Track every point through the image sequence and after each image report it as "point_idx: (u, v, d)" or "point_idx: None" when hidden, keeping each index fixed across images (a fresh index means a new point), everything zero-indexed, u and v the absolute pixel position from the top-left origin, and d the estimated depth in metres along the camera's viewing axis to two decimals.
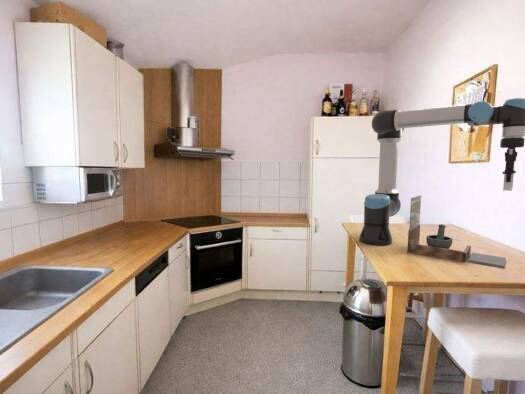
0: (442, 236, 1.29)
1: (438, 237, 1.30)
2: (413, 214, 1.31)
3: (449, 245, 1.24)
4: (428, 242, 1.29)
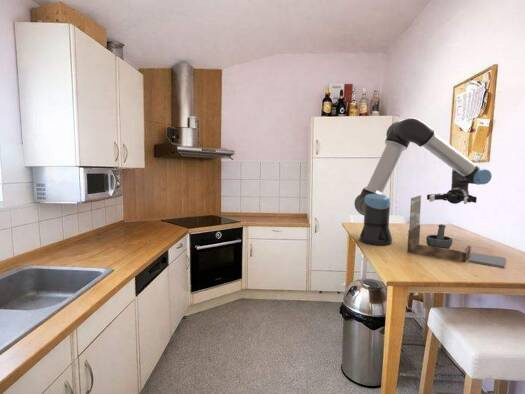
0: (442, 236, 1.29)
1: (438, 237, 1.29)
2: (413, 214, 1.31)
3: (449, 245, 1.24)
4: (428, 242, 1.29)
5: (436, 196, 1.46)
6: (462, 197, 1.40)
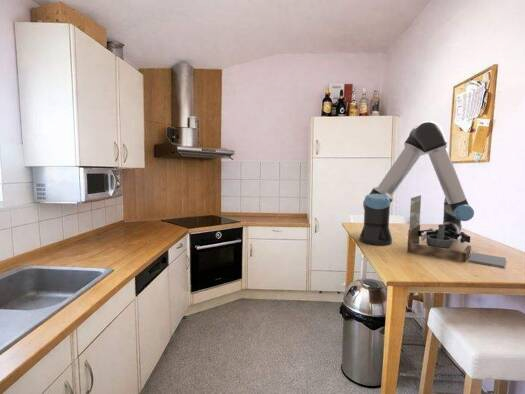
0: (442, 236, 1.29)
1: (438, 237, 1.30)
2: (413, 214, 1.31)
3: (449, 245, 1.24)
4: (428, 242, 1.29)
5: (428, 233, 1.36)
6: (455, 235, 1.31)
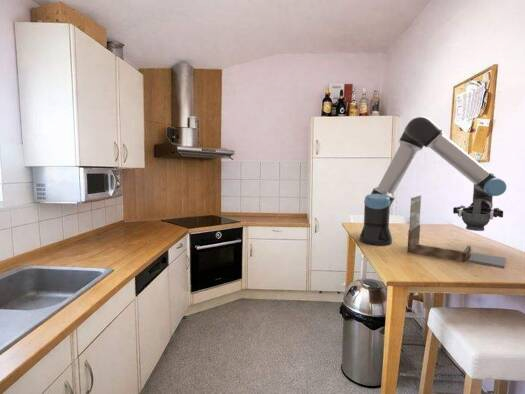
0: (479, 211, 1.20)
1: (474, 212, 1.21)
2: (413, 214, 1.31)
3: (488, 220, 1.16)
4: (464, 218, 1.20)
5: (464, 209, 1.26)
6: (487, 210, 1.23)
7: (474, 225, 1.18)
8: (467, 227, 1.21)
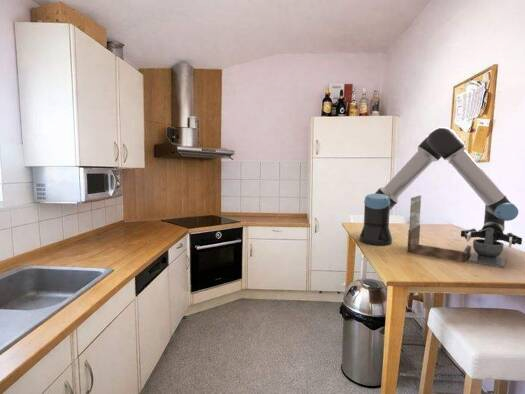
0: (491, 240, 1.18)
1: (486, 242, 1.18)
2: (413, 214, 1.31)
3: (500, 251, 1.13)
4: (475, 247, 1.18)
5: (472, 233, 1.25)
6: (503, 236, 1.20)
7: (486, 255, 1.15)
8: (478, 257, 1.18)
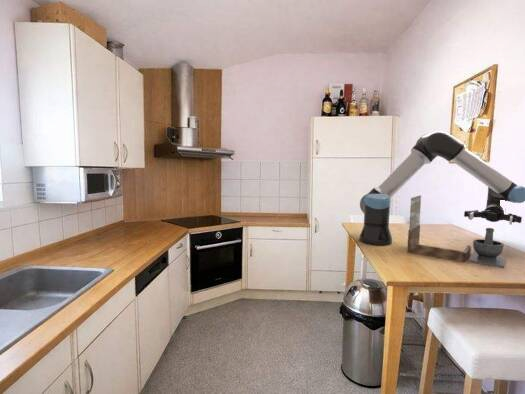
0: (491, 241, 1.18)
1: (486, 242, 1.18)
2: (413, 214, 1.31)
3: (500, 251, 1.13)
4: (475, 247, 1.18)
5: (475, 213, 1.36)
6: (504, 216, 1.30)
7: (486, 255, 1.15)
8: (478, 257, 1.18)
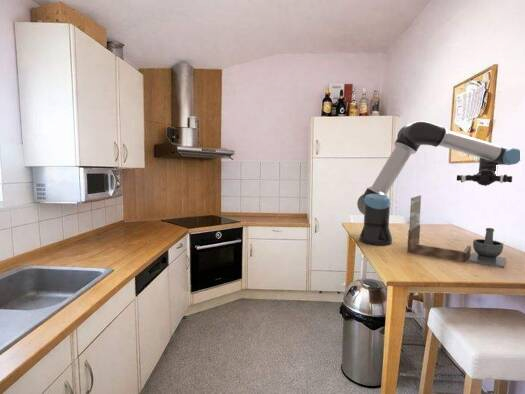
0: (491, 241, 1.18)
1: (486, 242, 1.18)
2: (413, 214, 1.31)
3: (500, 251, 1.13)
4: (475, 247, 1.18)
5: (467, 177, 1.39)
6: (495, 177, 1.33)
7: (486, 255, 1.15)
8: (478, 257, 1.18)
